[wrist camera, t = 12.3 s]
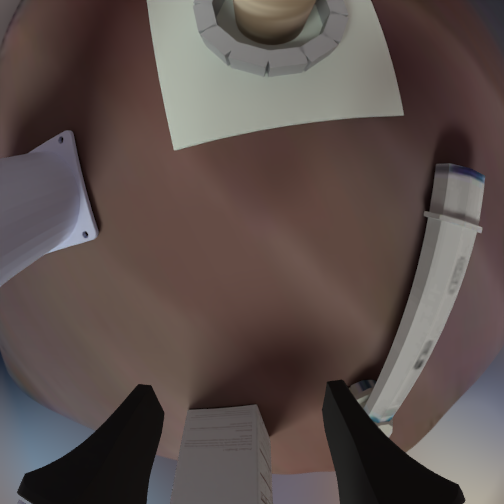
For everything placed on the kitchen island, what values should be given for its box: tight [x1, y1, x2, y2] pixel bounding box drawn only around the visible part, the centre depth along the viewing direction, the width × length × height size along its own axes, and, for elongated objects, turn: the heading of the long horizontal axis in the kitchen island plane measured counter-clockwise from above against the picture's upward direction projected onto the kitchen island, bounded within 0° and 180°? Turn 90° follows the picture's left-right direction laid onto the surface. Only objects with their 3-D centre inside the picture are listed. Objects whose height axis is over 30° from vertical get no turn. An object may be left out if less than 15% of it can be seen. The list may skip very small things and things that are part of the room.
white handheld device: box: [349, 163, 485, 438], centre depth 18 cm, size 5×7×25 cm
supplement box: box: [170, 404, 273, 504], centre depth 19 cm, size 7×7×13 cm
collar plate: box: [147, 0, 404, 150], centre depth 11 cm, size 14×14×3 cm
